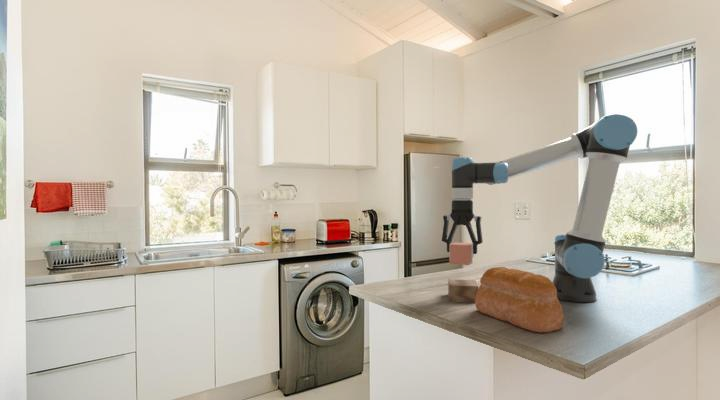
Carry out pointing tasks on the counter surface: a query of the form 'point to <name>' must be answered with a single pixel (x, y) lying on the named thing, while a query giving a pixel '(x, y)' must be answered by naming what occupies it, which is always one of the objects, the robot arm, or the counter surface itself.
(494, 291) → the bread
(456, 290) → the walnut plinth
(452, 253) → the pink cube
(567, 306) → the counter surface
